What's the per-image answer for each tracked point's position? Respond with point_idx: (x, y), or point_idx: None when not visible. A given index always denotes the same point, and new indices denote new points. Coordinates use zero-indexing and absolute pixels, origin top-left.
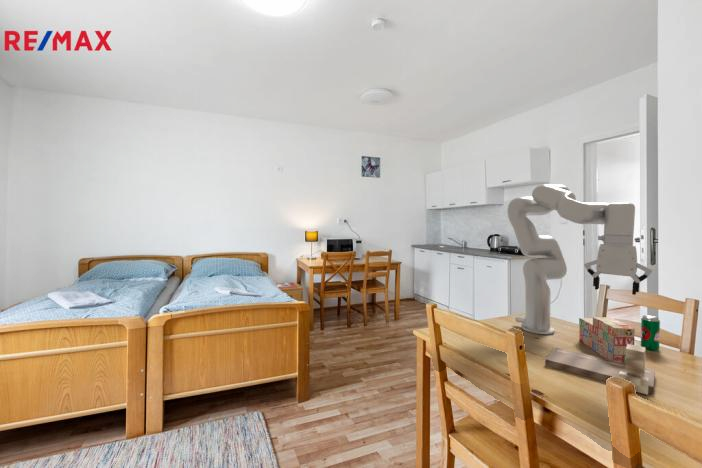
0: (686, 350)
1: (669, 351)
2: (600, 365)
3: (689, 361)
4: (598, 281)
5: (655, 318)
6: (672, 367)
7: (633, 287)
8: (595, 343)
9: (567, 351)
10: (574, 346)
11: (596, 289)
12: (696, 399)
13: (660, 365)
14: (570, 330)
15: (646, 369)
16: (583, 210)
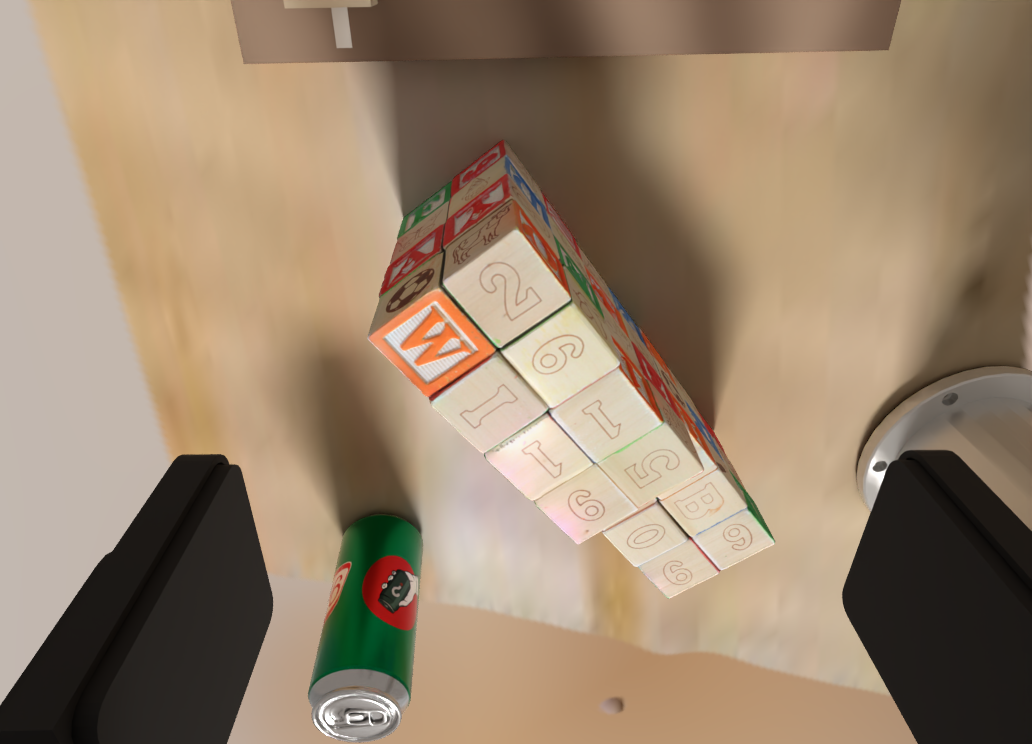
0: None
1: (307, 560)
2: None
3: None
4: (988, 662)
5: (325, 705)
6: (234, 324)
7: (136, 579)
8: (630, 326)
9: (805, 9)
10: (740, 295)
11: (910, 450)
12: None
13: (286, 310)
14: (763, 562)
15: (285, 26)
16: None
